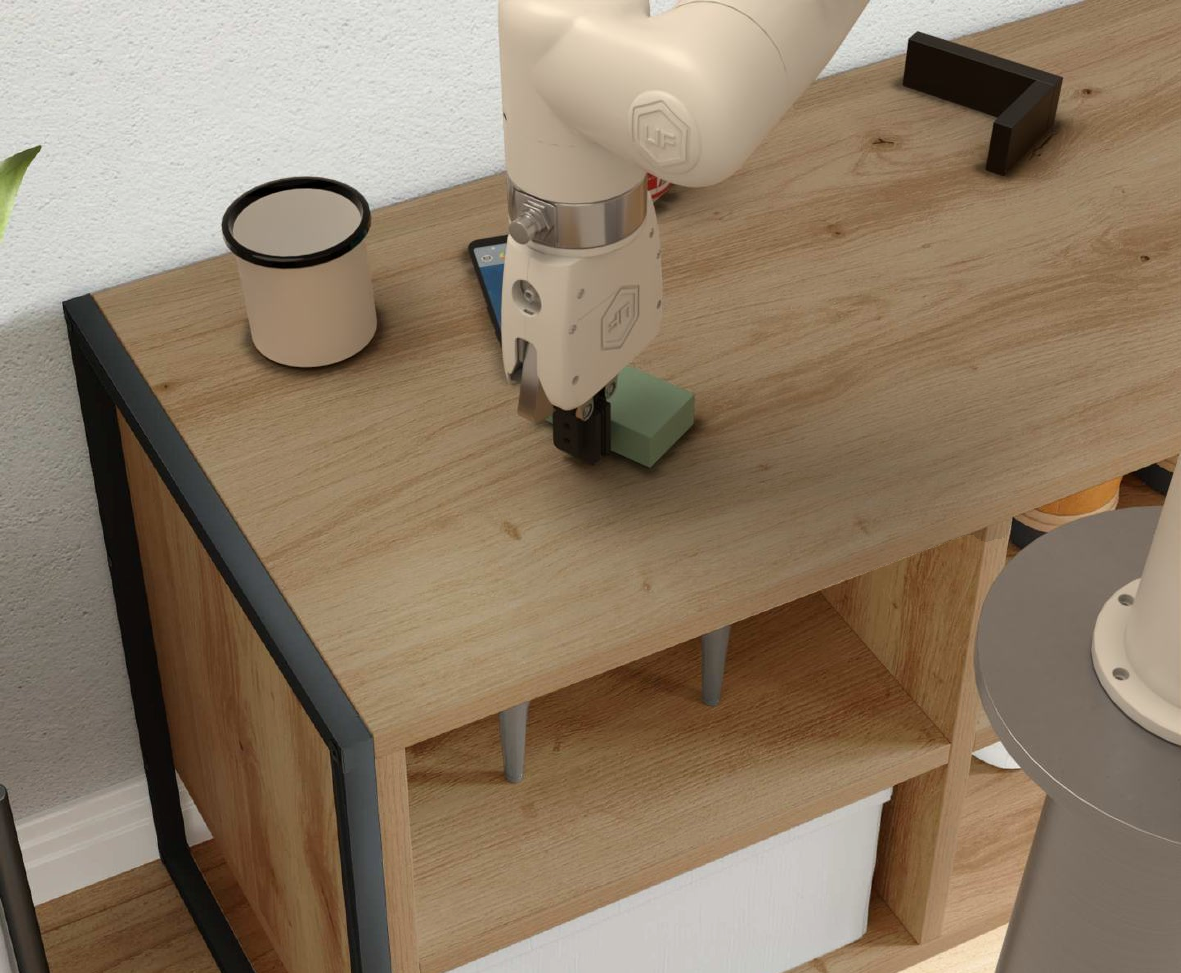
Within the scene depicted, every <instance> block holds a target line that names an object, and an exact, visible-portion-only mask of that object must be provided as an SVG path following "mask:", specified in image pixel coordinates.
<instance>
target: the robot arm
mask: <svg viewBox="0 0 1181 973" xmlns="http://www.w3.org/2000/svg"><path fill="white" fill-rule="evenodd" d="M870 1H871V0H678V1H677V2H676V3H675V4H673V6H672V7H671V8H670V9H669V10H668V11H664V12H660V13H659V14H656V15H651V4H650V0H498V2H497V30H498V48H499V49H498V51H499V68H500V70H499V71H500V81H501V82H500V86H501V105H502V106H501V107H502V123H503V124H502V125H503V139H504V140H503V141H504V142H503V143H504V159H505V160H504V161H505V180H506V197H507V198H506V199H507V214H508V233H509V234H508V235H509V236H508V239H507V247H506V255H505V263H504V273H503V287H502V309H501V333H502V349H501V351H502V352H501V353H502V361H503V369H504V373H505V377H506V381H507V382H508V385H510V386H517V385H520V386H519V395H518V403H517V410H516V411H517V415H518V416H519V417H521V418H523V419H526V420H528V421H530V422H532V423H534V424H536V425H537V424H540V423H541V422H542V421H545V419H546V418H548V417H549V416H551V415H552V418H553V424H552V439H553V440H552V443H553V446H554V447H555V448H556V449H557V450H558V451H561V452H563V453H565V454H567V455H569V456H571V457H574V458H575V459H578V460H580V461H581V462H584V463H587V464H588V465H591V466H595V465H597V464H598V462H600V461H601V458H602V456H606V455H607V454H608V453H609V452H610V451H611V403H610V402H608V401H607V399H610V398H611V397H612V396H613V395H614V393H615V391H616V388H617V379H618V373H619V372H620V371H621V370H623V369H624V368H625V367H626V366H627V365H629V364H631V362H632V361H633V360H634V359H635V358H636V357H638V355H640V354H641V353H642V352H643V351H644V350H645V349H646V348H647V347H648V346H649V345H650V344H651V343H652V341H654V339H655V338H656V336H657V335H658V333H659V332H660V329H661V327H662V324H663V312H664V306H663V305H664V291H663V290H664V288H663V287H664V286H663V264H662V262H663V261H662V250H661V239H660V230H659V224H658V219H657V213H656V209H655V205H654V203H653V201H652V198H651V195H650V193H649V191H648V173H650V174H652V175H654V176H656V177H658V178H660V179H662V180H665V181H668V182H670V183H671V184H673V185H677V186H682V187H686V188H705V187H706V188H707V187H711V186H714V185H717V184H720V183H721V182H723V181H725V180H727V179H728V178H730V177H732V176H733V175H734V174H735V173H737V171H739V170H740V169H741V167H743V166H744V164H746V162H747V161H749V159H750V158H751V157H752V156H753V155H754V153H755V152H756V151H757V150H758V148H759V147H760V146H761V144H763V143H764V141H765V140H766V139H767V138H768V137H769V135H771V133H772V132H773V131H774V129H776V127H777V126H778V124H779V122H780V121H781V119H783V117H784V116H785V115H786V114H787V112H788V111H789V110H790V109H791V108H792V107H793V106H794V104H795V103H796V102H797V101H798V100H799V99H800V98H801V96H802V95H803V94H804V93H805V92H806V91H807V90H808V89H809V87H811V85H813V83H814V82H815V81H816V79H818V77H819V76H820V75H821V73H822V72H823V71H824V70H825V68H826V67H827V65H828V64H829V63H830V62H831V60H832V59H833V57H834V56H835V54H836V53H837V51H838V50H839V49H840V47H841V45H842V44H843V42H844V41H845V40H846V38H847V37H848V35H849V34H850V32H851V31H852V29H853V27H854V26H855V24H856V23H857V21H858V20H859V18H860V17H861V15H862V13H864V11H865V9H866V7H867V6H868V4H869V3H870ZM1176 461H1177V462H1176V464H1175V468H1174V469H1173V470H1174V471H1173V474H1172V477H1171V480H1170V484H1169V487H1168V490H1167V493H1166V496H1165V499H1164V503H1163V505H1162V506H1163V509H1162V512H1161V516H1160V519H1159V522H1158V525H1157V528H1156V532H1155V535H1154V538H1153V541H1152V545H1151V548H1150V551H1149V554H1148V558H1147V561H1146V564H1145V567H1144V570H1143V574H1142V577H1141V578H1139V579H1136V580H1134V581H1131V582H1130V583H1128V584H1127V585H1125V586H1124V587H1122V588H1121V589H1119V590H1118V591H1116V592H1115V593H1114V594H1113V595H1112V596H1111V598H1110V599H1109V600H1108V601H1107V602H1106V603H1105V604H1104V606H1103V608H1102V610H1101V612H1100V614H1099V615H1098V618H1097V621H1096V624H1095V628H1094V631H1093V634H1092V645H1091V653H1092V659H1093V665H1094V668H1095V671H1096V673H1097V675H1098V678H1099V680H1100V682H1101V685H1102V686H1103V687H1104V689H1105V690H1106V692H1107V693H1108V695H1109V696H1110V698H1111V699H1112V700H1113V701H1114V702H1115V703H1116V704H1117V705H1118V706H1119V708H1120V709H1121V710H1122V711H1123V712H1124V713H1125V714H1126V715H1127V716H1129V717H1130V718H1131V719H1133V720H1134V721H1135V722H1137V723H1138V724H1140V725H1141V726H1142V727H1144V728H1145V729H1146V730H1148V731H1150V732H1152V733H1154V734H1156V735H1158V736H1159V737H1161V738H1163V739H1165V740H1167V741H1169V742H1172V743H1175V744H1178V745H1180V746H1181V450H1180V451H1179V454H1178V457H1177V460H1176Z"/></svg>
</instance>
